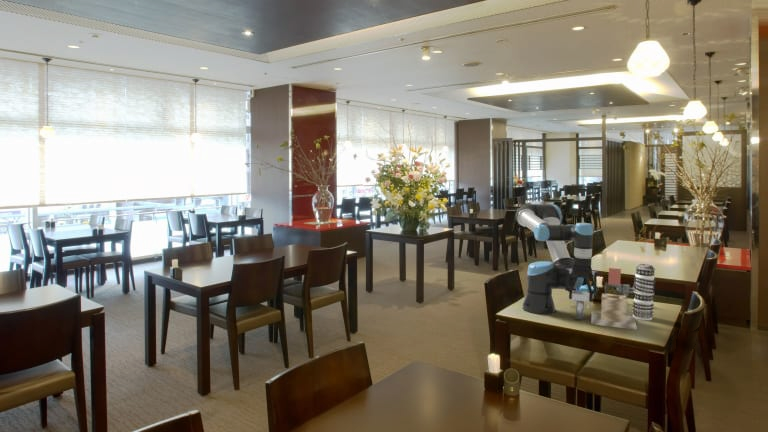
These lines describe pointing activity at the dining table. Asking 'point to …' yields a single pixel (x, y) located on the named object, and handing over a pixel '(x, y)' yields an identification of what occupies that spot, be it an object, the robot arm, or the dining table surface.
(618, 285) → the keeper flap
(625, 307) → the hitch block
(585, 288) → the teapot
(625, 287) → the mechanical component
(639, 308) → the black and white tower
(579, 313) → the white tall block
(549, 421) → the dining table surface
